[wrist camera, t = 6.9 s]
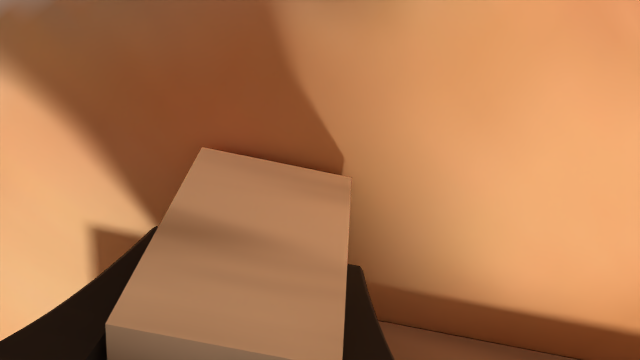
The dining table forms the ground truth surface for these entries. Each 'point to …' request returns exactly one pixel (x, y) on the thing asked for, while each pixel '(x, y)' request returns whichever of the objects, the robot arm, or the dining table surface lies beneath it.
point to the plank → (450, 346)
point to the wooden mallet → (241, 267)
